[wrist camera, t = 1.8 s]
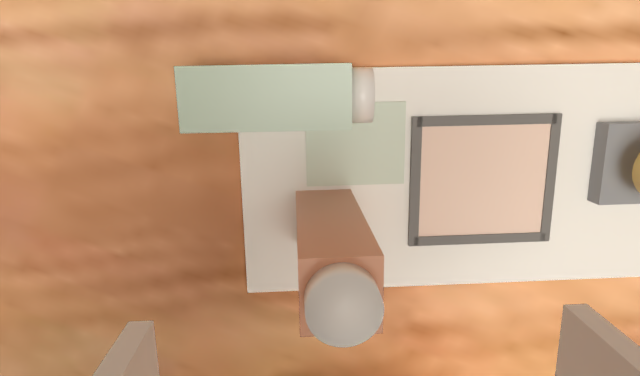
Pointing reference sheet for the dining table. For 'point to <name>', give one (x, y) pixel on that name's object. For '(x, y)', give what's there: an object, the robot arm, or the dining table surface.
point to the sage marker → (273, 97)
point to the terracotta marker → (337, 269)
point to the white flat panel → (465, 176)
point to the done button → (636, 173)
